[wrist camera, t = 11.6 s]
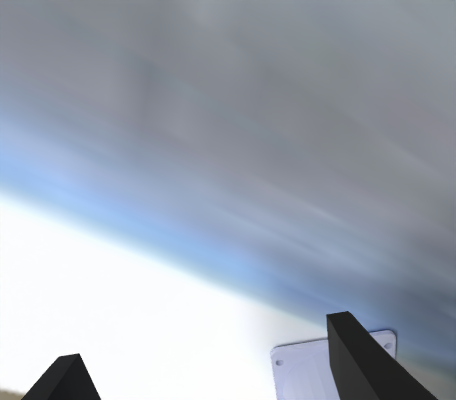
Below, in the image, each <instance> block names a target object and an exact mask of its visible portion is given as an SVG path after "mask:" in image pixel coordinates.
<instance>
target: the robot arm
mask: <svg viewBox="0 0 456 400" xmlns="http://www.w3.org/2000/svg"><path fill="white" fill-rule="evenodd" d="M326 316H327V332H328V339H326V340H320V341H313V342H307V343H300V344H294V345H288V346H281V347H276V348H274V349H272V350H271V352H270V356H271V362H272V369H273V375H274V381H275V387H276V394H277V400H438V399H437V398H436V397H435V396H433V395H432V394H431V393H430V392H429V391H428V390H427V389H425V388H424V387H423V386H422V385H421V384H420V383H419V382H418V381H417V380H416V379H415V378H413V377H412V376H411V375H410V374H409V373H408V372H407V371H406V370H405V369H404V368H403V367H402V366H401V365H400V364H399V363H398V362H397V361H396V360H395V351H396V336H395V335H394V333H393V332H392V331H390V330H384V331H378V332H371V333H368V332H367V330H366V329H365V328H364V327H363V326H362V325H361V324H360V323H359V322H358V321H357V319H356V318H355V317H354V316H353V315H352V314H351V313H350V312H348V311H346V312H340V313H333V314H327V315H326ZM387 343H388V344H387ZM277 360H279V361H277ZM21 400H101V399H100V396H99V394H98V392H97V390H96V388H95V386H94V384H93V382H92V379H91V377H90V375H89V373H88V371H87V369H86V367H85V364H84V362H83V360H82V358H81V356H80V354H72V355H66V356H60V357H58V358H57V359H56V360H55V362H54V363H53V364H52V365H51V366H50V367H49V368H48V369H47V370H46V372H45V373H44V374H43V375H42V376H41V377H40V378H39V380H38V381H37V382H36V383H35V384H34V385H33V386H32V388H31V389H30V390H29V391H28V392H27V393H26V395H25V396H24V397H23V398H22V399H21Z"/></svg>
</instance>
